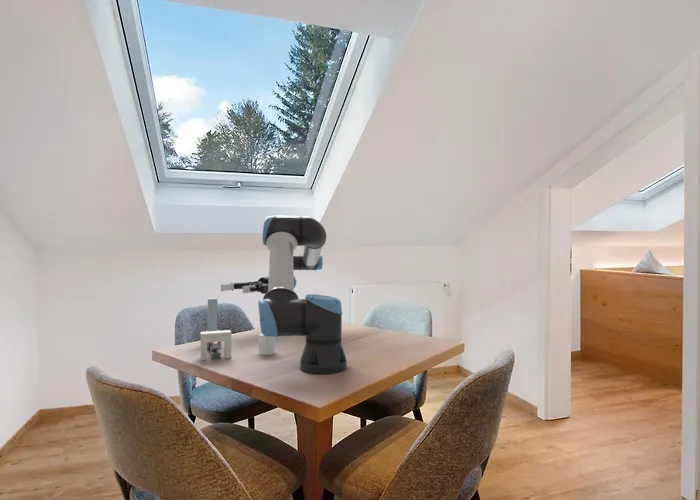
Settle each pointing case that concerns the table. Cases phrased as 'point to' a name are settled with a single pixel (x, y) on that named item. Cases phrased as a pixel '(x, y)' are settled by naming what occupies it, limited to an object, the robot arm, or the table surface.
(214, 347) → the plunger
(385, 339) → the table surface
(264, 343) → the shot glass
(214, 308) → the carriage
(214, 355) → the rail
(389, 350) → the table surface
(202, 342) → the arch
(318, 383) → the table surface
